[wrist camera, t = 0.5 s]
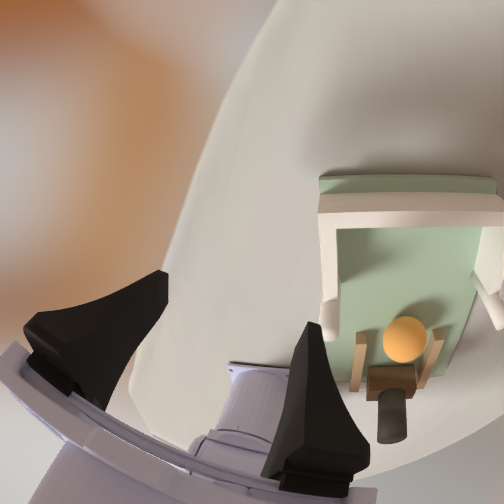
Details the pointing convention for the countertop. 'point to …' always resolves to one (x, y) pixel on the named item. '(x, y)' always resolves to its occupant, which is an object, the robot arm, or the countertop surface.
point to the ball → (404, 339)
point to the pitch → (406, 264)
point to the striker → (391, 399)
